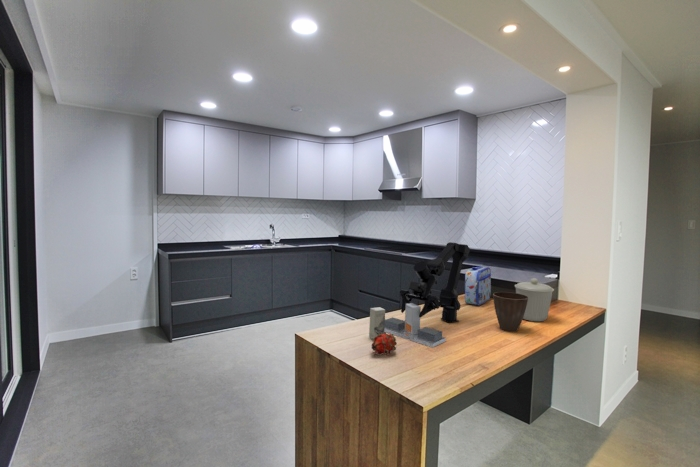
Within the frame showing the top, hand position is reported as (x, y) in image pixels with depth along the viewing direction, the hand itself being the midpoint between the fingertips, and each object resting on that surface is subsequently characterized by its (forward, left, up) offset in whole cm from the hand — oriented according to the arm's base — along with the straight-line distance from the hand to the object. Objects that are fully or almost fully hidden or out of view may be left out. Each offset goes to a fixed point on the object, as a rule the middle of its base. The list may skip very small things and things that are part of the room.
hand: (410, 314), depth 154 cm
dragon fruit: (+20, +12, -10) cm, 25 cm away
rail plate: (-1, -1, -10) cm, 10 cm away
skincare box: (-1, -1, -8) cm, 8 cm away
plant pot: (-49, +7, -10) cm, 51 cm away
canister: (-74, -1, -10) cm, 75 cm away
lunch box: (-71, -36, -10) cm, 81 cm away
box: (+15, -3, -10) cm, 18 cm away
